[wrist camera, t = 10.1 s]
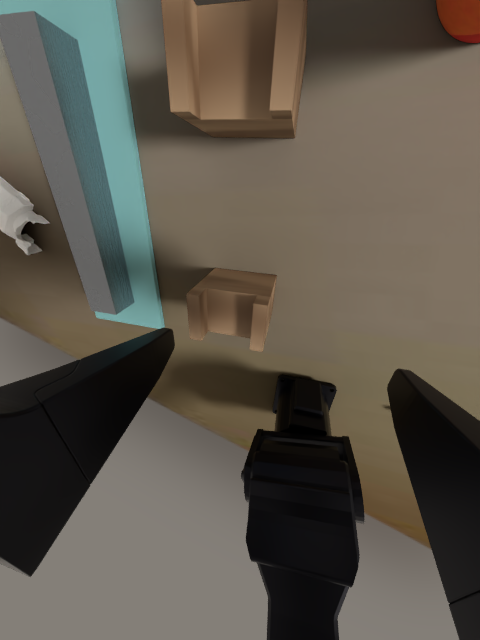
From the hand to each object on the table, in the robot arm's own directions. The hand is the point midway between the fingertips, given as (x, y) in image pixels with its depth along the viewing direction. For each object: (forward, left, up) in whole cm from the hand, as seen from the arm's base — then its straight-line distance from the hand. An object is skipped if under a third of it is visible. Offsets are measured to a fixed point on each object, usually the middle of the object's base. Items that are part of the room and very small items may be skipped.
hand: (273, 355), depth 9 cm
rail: (+4, +18, -12) cm, 22 cm away
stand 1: (+11, +4, -13) cm, 17 cm away
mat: (+4, +18, -13) cm, 22 cm away
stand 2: (-3, +4, -13) cm, 14 cm away
